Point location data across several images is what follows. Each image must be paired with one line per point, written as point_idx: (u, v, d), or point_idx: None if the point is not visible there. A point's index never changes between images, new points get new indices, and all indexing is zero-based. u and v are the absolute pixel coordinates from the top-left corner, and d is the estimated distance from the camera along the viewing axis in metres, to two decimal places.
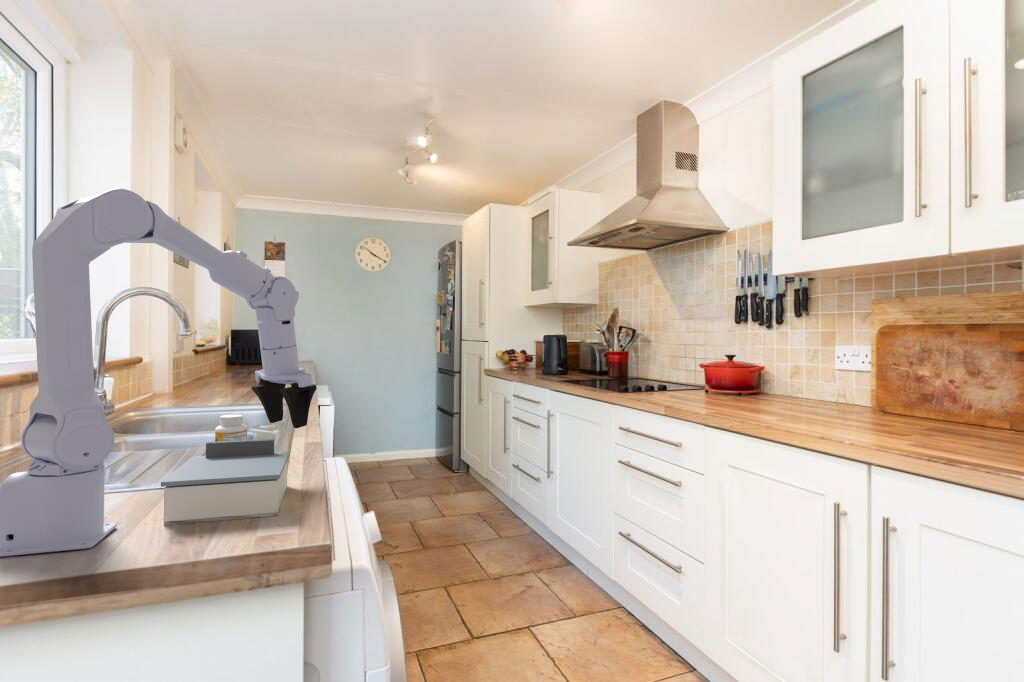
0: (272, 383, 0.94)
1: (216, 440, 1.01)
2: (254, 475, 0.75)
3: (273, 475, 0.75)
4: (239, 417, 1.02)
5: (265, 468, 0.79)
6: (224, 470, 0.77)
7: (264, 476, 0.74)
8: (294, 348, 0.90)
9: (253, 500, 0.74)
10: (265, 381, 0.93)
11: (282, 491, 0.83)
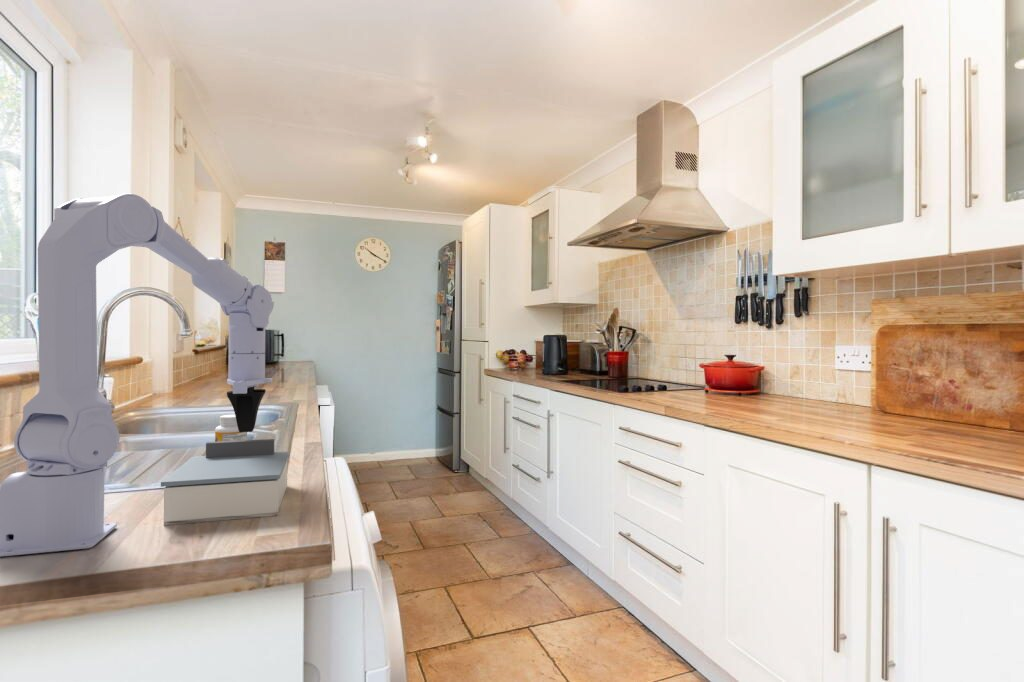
0: None
1: (216, 440, 1.01)
2: (254, 475, 0.75)
3: (273, 475, 0.75)
4: None
5: (265, 468, 0.79)
6: (224, 470, 0.77)
7: (264, 476, 0.74)
8: (253, 356, 0.90)
9: (253, 500, 0.74)
10: None
11: (282, 491, 0.83)
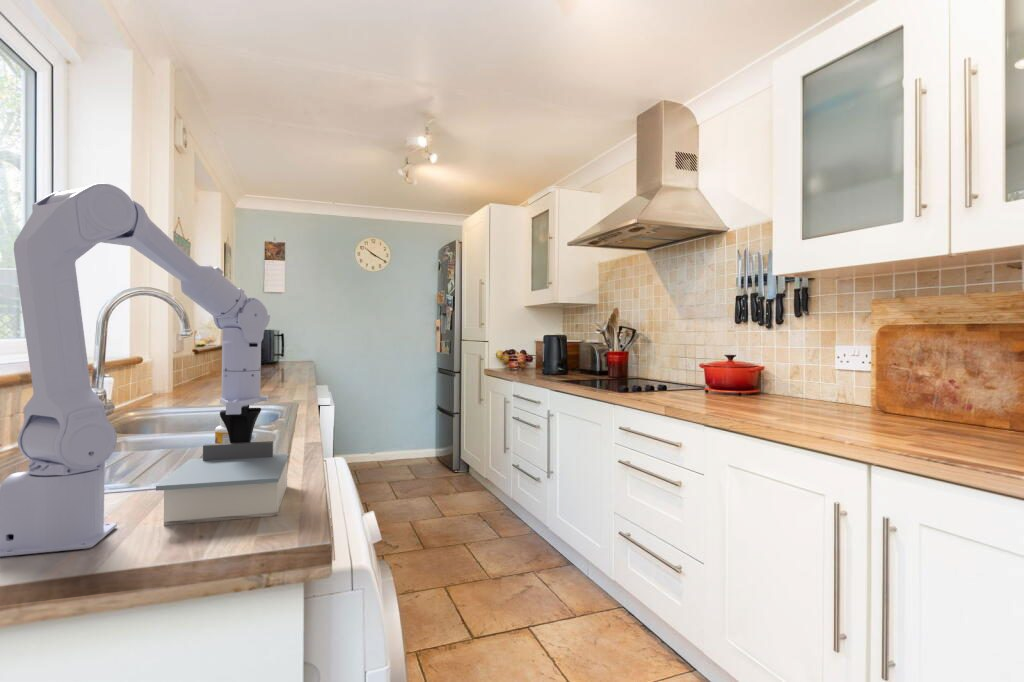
0: None
1: (216, 440, 1.01)
2: (252, 478, 0.73)
3: (271, 478, 0.73)
4: None
5: (263, 471, 0.77)
6: (221, 473, 0.75)
7: (262, 480, 0.73)
8: (248, 373, 0.85)
9: (253, 500, 0.74)
10: None
11: (282, 491, 0.83)
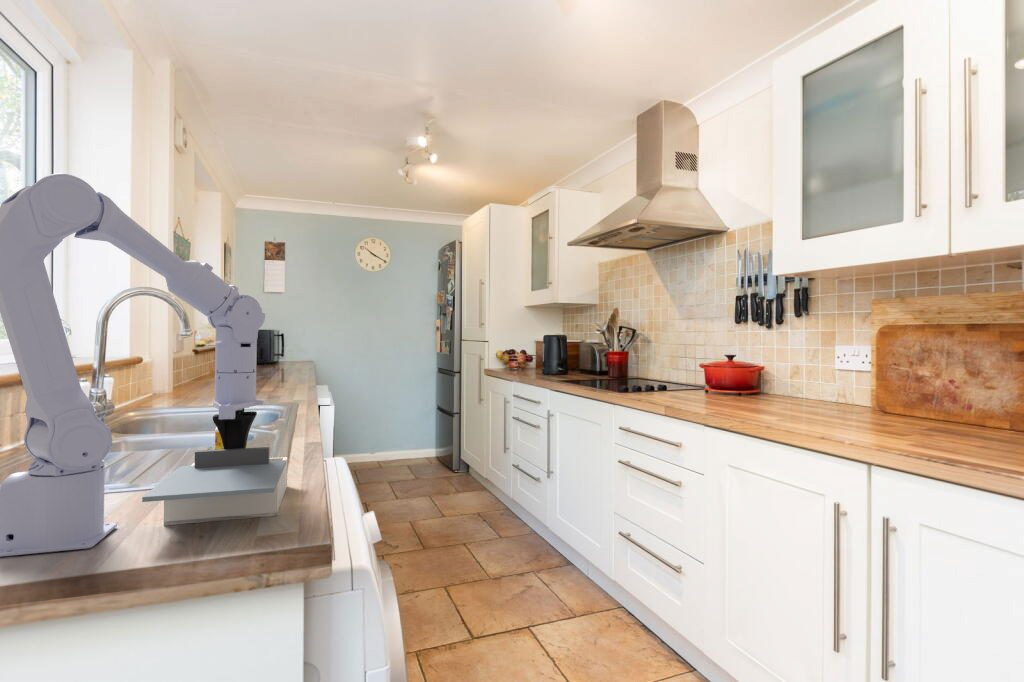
0: None
1: (216, 440, 1.01)
2: (246, 488, 0.68)
3: (267, 488, 0.68)
4: None
5: (258, 480, 0.72)
6: (213, 482, 0.70)
7: (257, 489, 0.68)
8: (243, 375, 0.80)
9: (253, 500, 0.74)
10: None
11: (282, 491, 0.83)
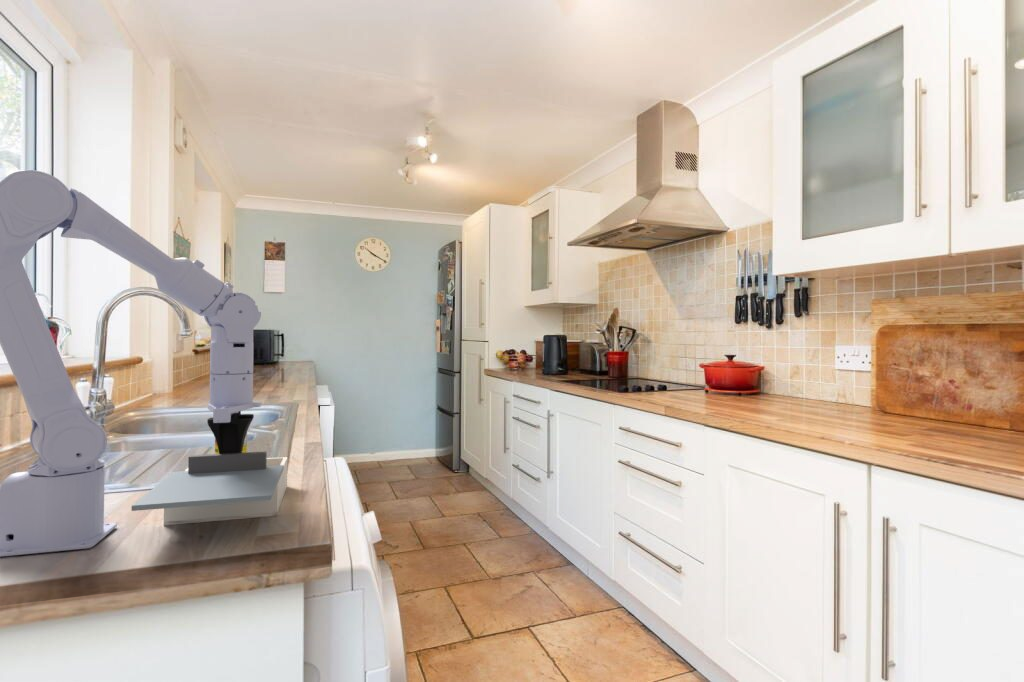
0: None
1: None
2: (241, 496, 0.64)
3: (263, 496, 0.65)
4: None
5: (255, 487, 0.69)
6: (207, 489, 0.67)
7: (253, 497, 0.64)
8: (239, 376, 0.77)
9: None
10: None
11: (282, 491, 0.83)
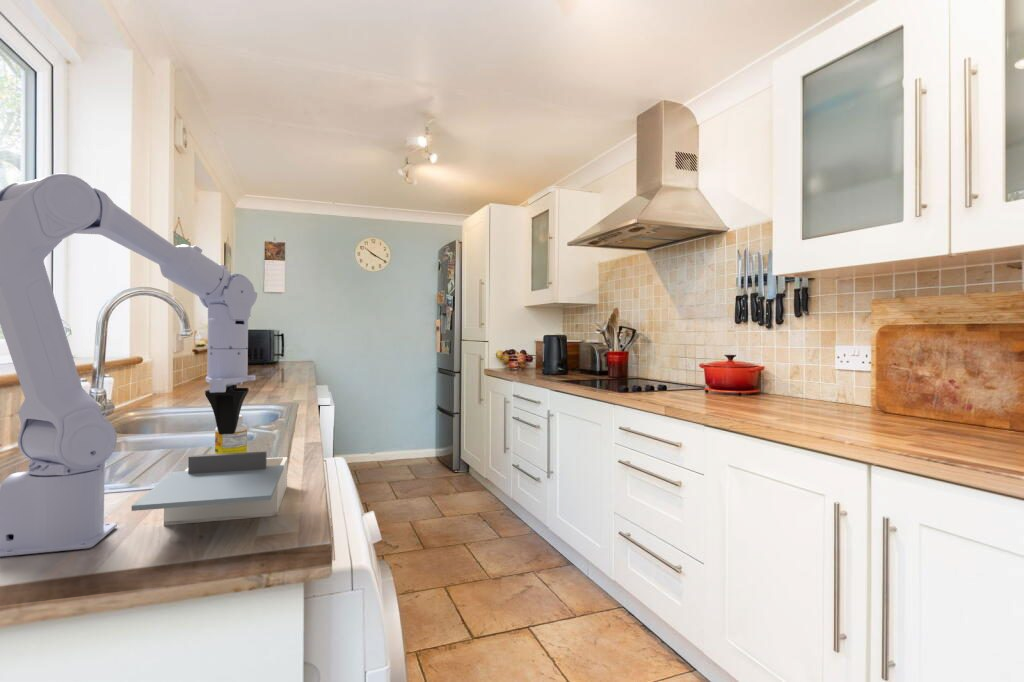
0: None
1: (216, 440, 1.01)
2: (241, 496, 0.64)
3: (263, 496, 0.65)
4: (239, 417, 1.02)
5: (255, 487, 0.69)
6: (207, 489, 0.67)
7: (253, 497, 0.64)
8: (234, 351, 0.83)
9: None
10: None
11: (282, 491, 0.83)
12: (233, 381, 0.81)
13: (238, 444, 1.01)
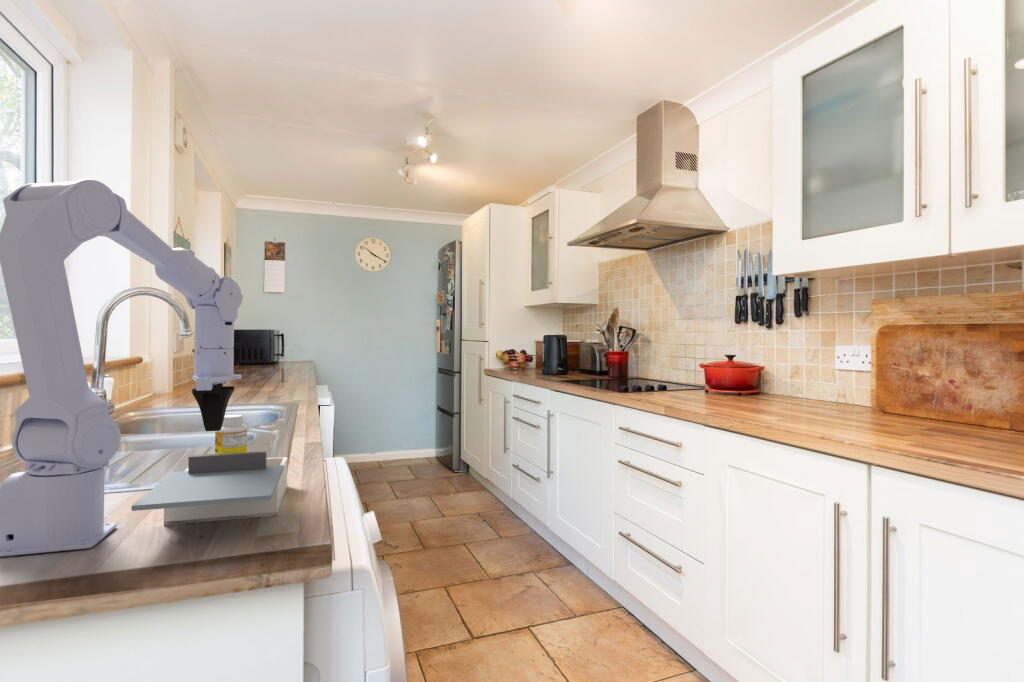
0: None
1: (216, 440, 1.01)
2: (241, 496, 0.64)
3: (263, 496, 0.65)
4: (239, 417, 1.02)
5: (255, 487, 0.69)
6: (207, 489, 0.67)
7: (253, 497, 0.64)
8: (220, 351, 0.86)
9: None
10: None
11: (282, 491, 0.83)
12: (219, 380, 0.84)
13: (238, 444, 1.01)
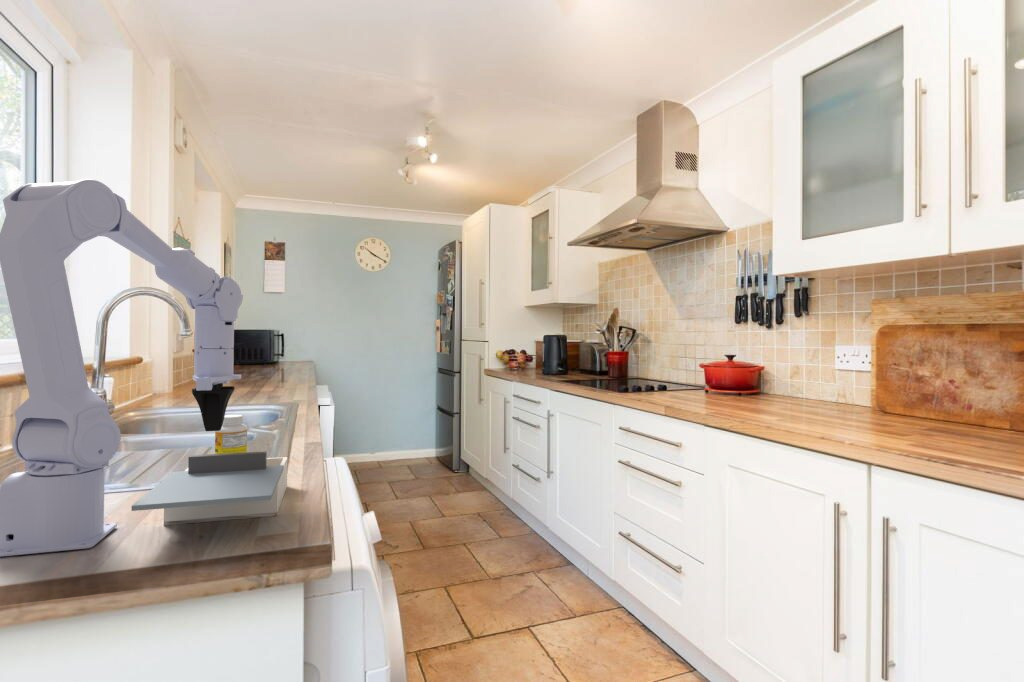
0: None
1: (216, 440, 1.01)
2: (241, 496, 0.64)
3: (263, 496, 0.65)
4: (239, 417, 1.02)
5: (255, 487, 0.69)
6: (207, 489, 0.67)
7: (253, 497, 0.64)
8: (220, 351, 0.86)
9: None
10: None
11: (282, 491, 0.83)
12: (219, 380, 0.84)
13: (238, 444, 1.01)
